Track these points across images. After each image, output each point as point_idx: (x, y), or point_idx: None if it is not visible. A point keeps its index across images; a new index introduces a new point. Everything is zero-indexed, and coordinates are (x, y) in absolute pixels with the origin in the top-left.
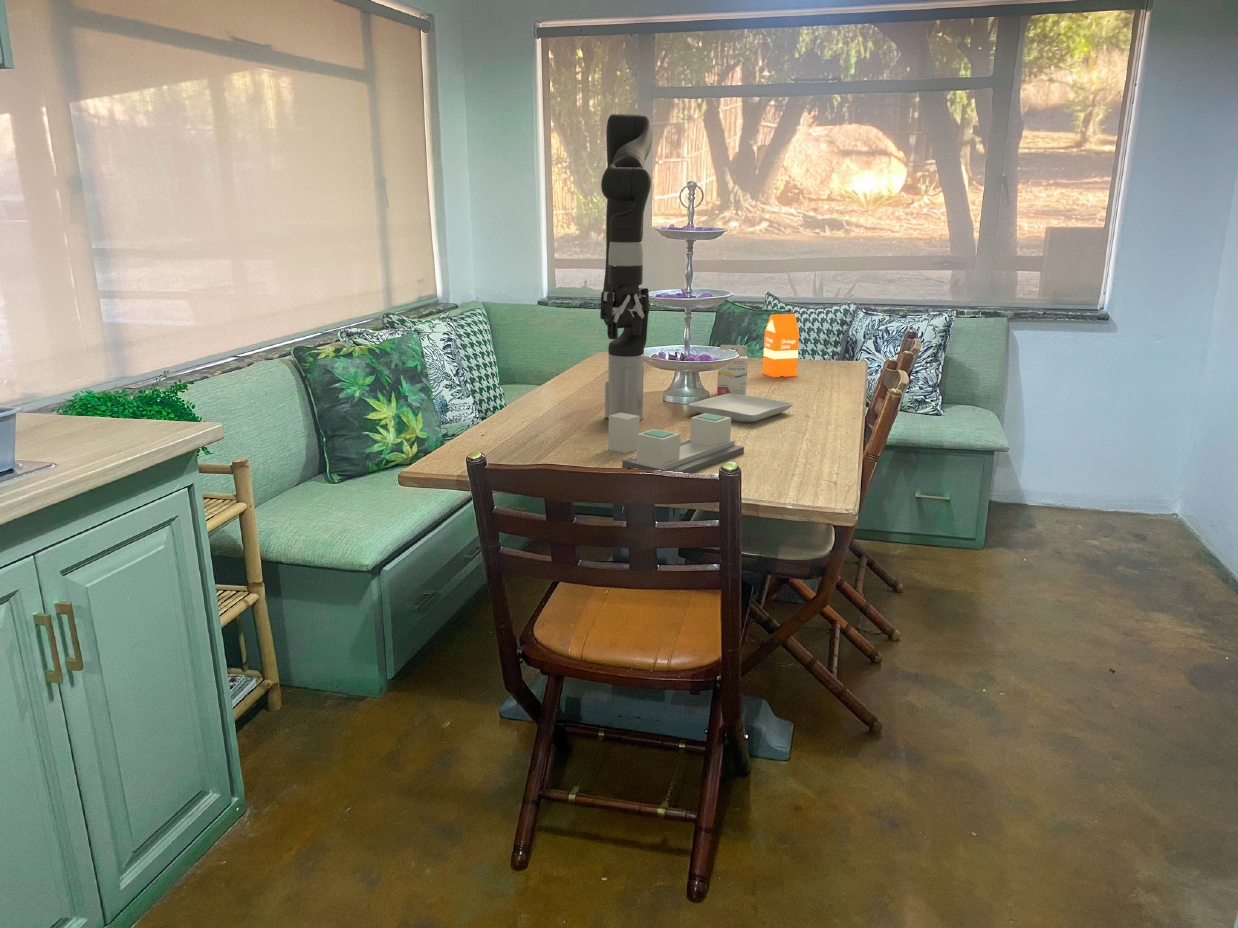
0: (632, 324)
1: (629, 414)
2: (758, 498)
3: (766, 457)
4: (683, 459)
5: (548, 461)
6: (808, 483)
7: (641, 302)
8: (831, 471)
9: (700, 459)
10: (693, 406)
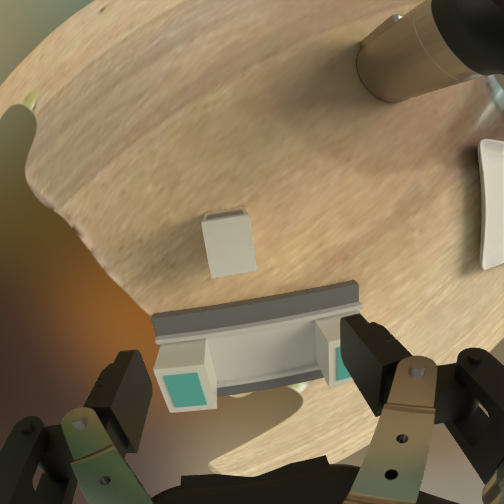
0: (363, 344)
1: (249, 244)
2: (213, 464)
3: (354, 389)
4: (219, 386)
5: (77, 210)
6: (294, 460)
7: (486, 444)
8: (347, 446)
9: (255, 382)
10: (479, 153)
